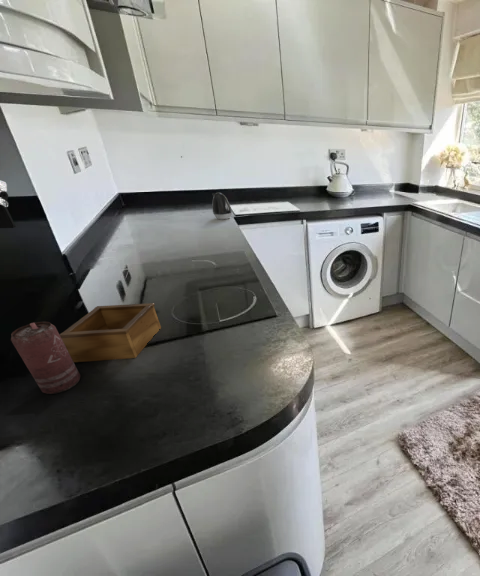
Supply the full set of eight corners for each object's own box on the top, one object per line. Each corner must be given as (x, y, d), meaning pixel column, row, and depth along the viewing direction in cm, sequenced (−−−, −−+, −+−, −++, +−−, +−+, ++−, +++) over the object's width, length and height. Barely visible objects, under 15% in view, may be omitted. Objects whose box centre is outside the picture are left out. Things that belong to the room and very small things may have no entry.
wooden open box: (72, 362, 74) (58, 335, 71) (107, 331, 86) (97, 306, 82) (136, 358, 76) (125, 331, 72) (162, 327, 87) (154, 303, 84)
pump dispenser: (224, 215, 200) (218, 190, 193) (236, 217, 196) (232, 191, 189) (210, 219, 191) (204, 193, 184) (223, 221, 187) (217, 194, 181)
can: (76, 370, 72) (48, 316, 65) (85, 382, 68) (56, 327, 62) (38, 386, 67) (4, 329, 61) (46, 400, 64) (11, 341, 58)
